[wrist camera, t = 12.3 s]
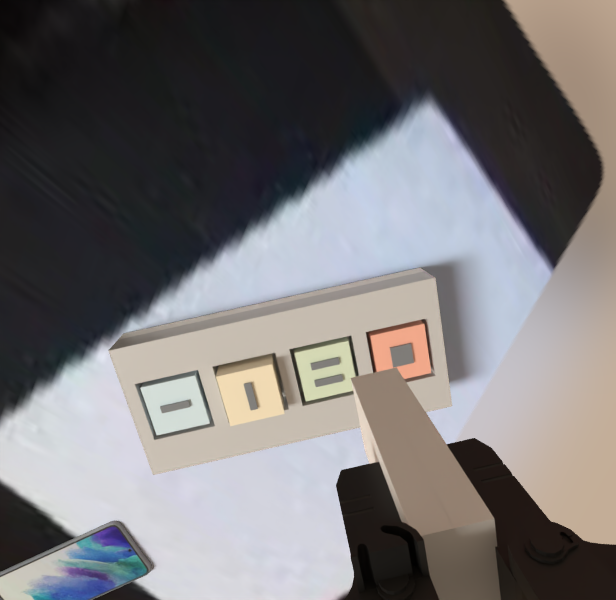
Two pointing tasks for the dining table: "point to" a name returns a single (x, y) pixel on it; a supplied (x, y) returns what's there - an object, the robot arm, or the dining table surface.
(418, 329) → the key coral
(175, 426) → the key blue
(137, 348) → the keypad
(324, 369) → the key sage
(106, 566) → the smartphone
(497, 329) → the dining table surface
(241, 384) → the key sand
